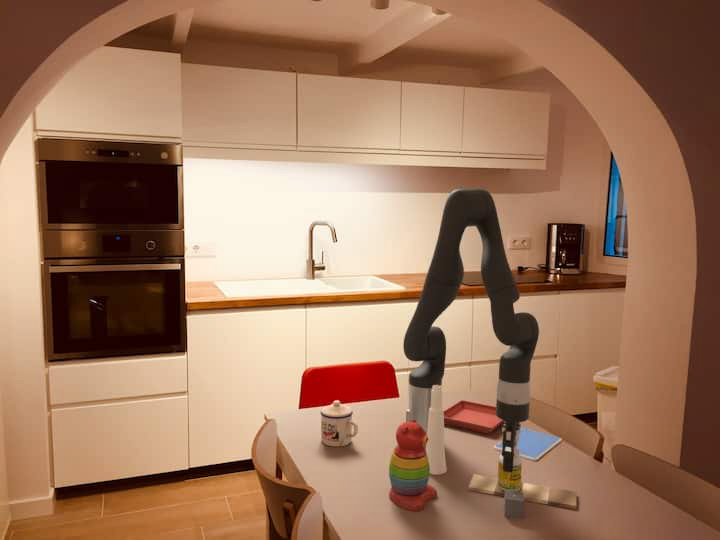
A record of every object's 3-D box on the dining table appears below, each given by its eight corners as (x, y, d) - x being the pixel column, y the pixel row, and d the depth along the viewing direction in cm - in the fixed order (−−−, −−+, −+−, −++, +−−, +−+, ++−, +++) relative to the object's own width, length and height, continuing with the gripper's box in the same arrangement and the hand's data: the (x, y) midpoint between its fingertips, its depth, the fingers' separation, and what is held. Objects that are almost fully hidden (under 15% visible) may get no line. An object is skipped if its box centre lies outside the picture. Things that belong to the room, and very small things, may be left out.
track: (468, 489, 139) (468, 486, 139) (473, 477, 146) (473, 474, 146) (576, 509, 131) (576, 506, 131) (576, 495, 137) (576, 491, 137)
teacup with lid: (313, 441, 166) (313, 402, 165) (334, 432, 174) (334, 394, 172) (346, 453, 159) (347, 411, 158) (366, 442, 166) (367, 402, 165)
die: (504, 516, 128) (504, 498, 127) (503, 507, 132) (504, 490, 131) (523, 518, 127) (524, 501, 126) (522, 509, 131) (523, 492, 130)
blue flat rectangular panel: (521, 430, 178) (522, 426, 178) (562, 441, 170) (563, 437, 170) (492, 450, 163) (492, 446, 163) (535, 463, 155) (536, 459, 155)
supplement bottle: (508, 480, 143) (509, 442, 142) (525, 488, 138) (527, 449, 137) (492, 485, 140) (494, 447, 139) (509, 494, 135) (511, 455, 134)
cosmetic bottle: (427, 462, 154) (429, 381, 151) (449, 467, 151) (452, 384, 149) (419, 472, 148) (421, 387, 146) (442, 477, 146) (444, 391, 143)
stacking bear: (419, 513, 128) (421, 435, 126) (379, 501, 134) (380, 425, 132) (439, 493, 137) (441, 420, 135) (401, 482, 143) (403, 411, 141)
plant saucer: (436, 425, 181) (436, 414, 181) (461, 408, 196) (461, 399, 196) (491, 438, 171) (492, 427, 171) (513, 420, 186) (513, 410, 186)
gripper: (527, 410, 129) (523, 479, 131) (532, 390, 142) (528, 454, 144) (492, 405, 132) (489, 473, 134) (500, 386, 145) (497, 449, 147)
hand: (509, 463), depth 139 cm, fingers open, 8 cm apart
